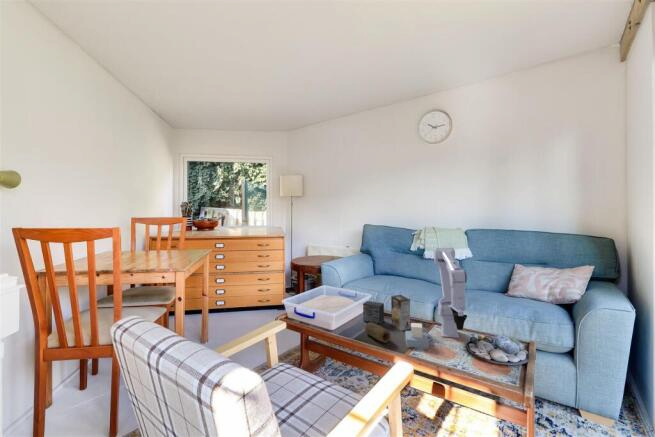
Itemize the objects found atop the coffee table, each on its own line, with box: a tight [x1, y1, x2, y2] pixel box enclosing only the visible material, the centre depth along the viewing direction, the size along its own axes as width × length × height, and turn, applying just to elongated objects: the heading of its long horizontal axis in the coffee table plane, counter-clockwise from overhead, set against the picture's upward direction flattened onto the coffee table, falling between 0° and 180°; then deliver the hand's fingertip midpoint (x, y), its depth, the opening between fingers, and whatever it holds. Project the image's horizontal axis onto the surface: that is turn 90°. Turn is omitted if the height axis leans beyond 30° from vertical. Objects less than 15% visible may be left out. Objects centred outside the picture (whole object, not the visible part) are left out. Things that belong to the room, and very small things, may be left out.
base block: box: [404, 330, 430, 349], centre depth 145 cm, size 10×10×4 cm
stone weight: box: [364, 322, 391, 343], centre depth 152 cm, size 15×7×7 cm, turn 31°
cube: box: [410, 322, 423, 338], centre depth 145 cm, size 5×5×5 cm
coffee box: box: [390, 294, 411, 331], centre depth 164 cm, size 9×6×16 cm
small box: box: [362, 300, 385, 326], centre depth 173 cm, size 11×6×10 cm, turn 58°
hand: (458, 326), depth 138 cm, fingers open, 7 cm apart
